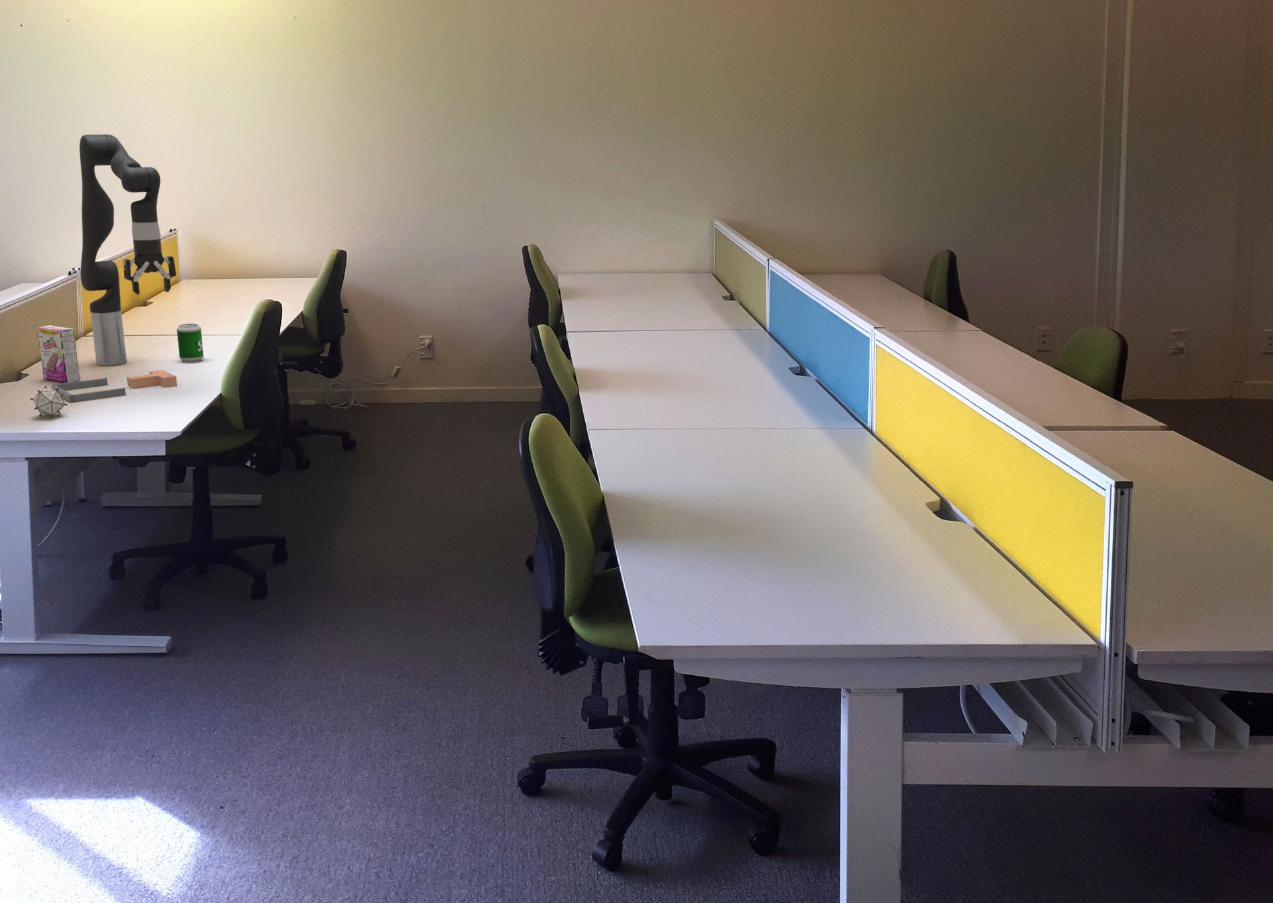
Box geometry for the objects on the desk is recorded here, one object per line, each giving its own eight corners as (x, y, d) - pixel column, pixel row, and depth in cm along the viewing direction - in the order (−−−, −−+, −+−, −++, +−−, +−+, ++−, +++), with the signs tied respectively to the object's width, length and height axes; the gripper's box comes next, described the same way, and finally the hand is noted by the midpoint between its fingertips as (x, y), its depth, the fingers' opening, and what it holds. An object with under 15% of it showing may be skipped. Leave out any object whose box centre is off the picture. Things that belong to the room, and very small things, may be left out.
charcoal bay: (52, 391, 359) (51, 384, 359) (106, 384, 369) (105, 377, 368) (69, 402, 346) (69, 395, 345) (126, 395, 355) (125, 388, 355)
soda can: (196, 363, 399) (192, 327, 395) (175, 362, 400) (171, 326, 397) (208, 359, 406) (205, 323, 403) (187, 358, 407) (184, 322, 404)
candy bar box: (42, 380, 374) (35, 327, 369) (57, 377, 378) (50, 324, 374) (67, 384, 369) (60, 330, 364) (81, 380, 373) (74, 328, 369)
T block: (123, 384, 369) (122, 374, 368) (163, 379, 376) (162, 369, 375) (136, 391, 360) (135, 381, 359) (177, 385, 367) (176, 376, 367)
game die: (48, 428, 333) (40, 395, 336) (76, 417, 333) (68, 384, 335) (28, 419, 324) (20, 386, 327) (58, 408, 324) (50, 375, 327)
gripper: (166, 235, 361) (172, 289, 365) (117, 237, 352) (123, 293, 357) (175, 237, 355) (180, 292, 360) (125, 240, 347) (131, 296, 351)
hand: (152, 293), depth 358 cm, fingers open, 8 cm apart
